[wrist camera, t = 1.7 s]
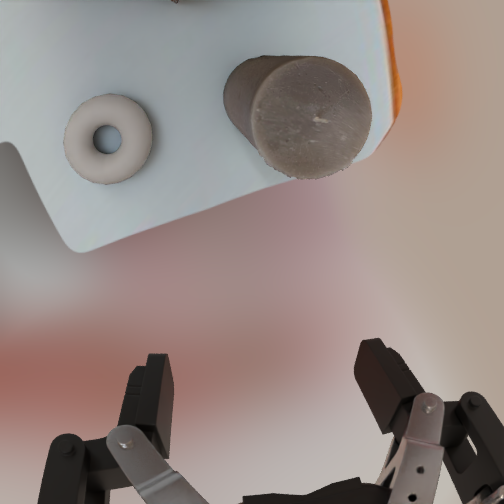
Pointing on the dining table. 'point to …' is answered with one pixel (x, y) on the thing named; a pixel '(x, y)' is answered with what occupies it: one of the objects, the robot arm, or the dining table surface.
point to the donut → (125, 121)
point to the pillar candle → (300, 112)
